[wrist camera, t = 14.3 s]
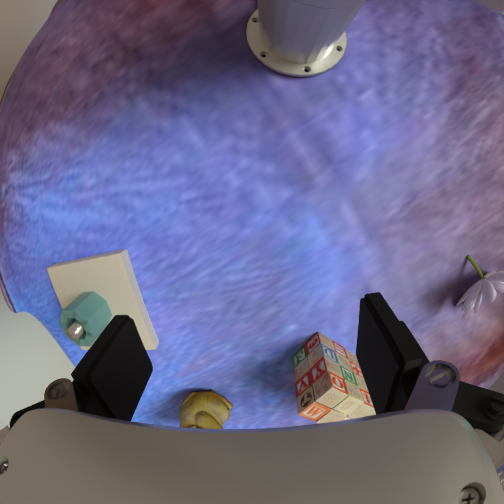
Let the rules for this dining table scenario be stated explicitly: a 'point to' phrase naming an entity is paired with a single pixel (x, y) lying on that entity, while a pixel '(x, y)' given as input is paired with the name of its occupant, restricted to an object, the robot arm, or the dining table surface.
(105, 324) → the bead
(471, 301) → the water lily
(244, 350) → the dining table surface
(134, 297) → the board
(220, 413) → the decorative figurine
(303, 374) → the stack of blocks
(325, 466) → the robot arm
